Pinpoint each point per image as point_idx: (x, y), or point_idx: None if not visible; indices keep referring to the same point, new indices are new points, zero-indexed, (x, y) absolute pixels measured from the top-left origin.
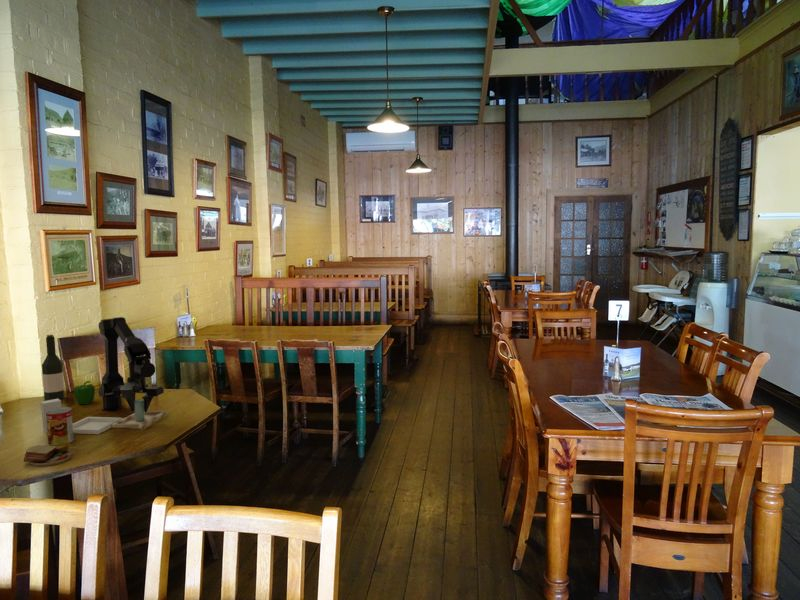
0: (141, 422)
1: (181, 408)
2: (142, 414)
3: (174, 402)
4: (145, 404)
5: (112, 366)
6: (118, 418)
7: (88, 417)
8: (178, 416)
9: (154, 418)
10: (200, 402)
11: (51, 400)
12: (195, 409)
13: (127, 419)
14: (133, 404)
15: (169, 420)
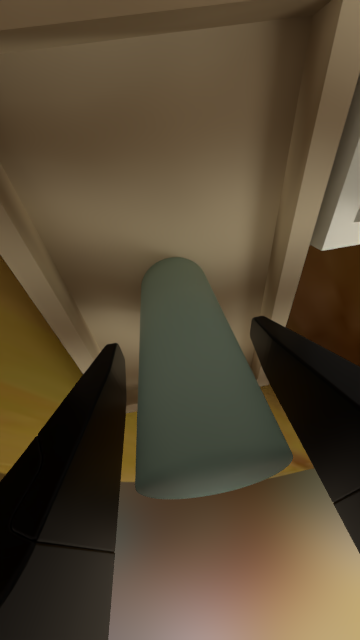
0: (122, 252)
1: (133, 444)
2: (140, 317)
3: None
4: (53, 438)
5: None
6: (355, 222)
7: None
8: (39, 403)
9: (55, 326)
10: (124, 475)
11: None
12: None
13: (274, 265)
14: (292, 395)
15: (7, 357)
